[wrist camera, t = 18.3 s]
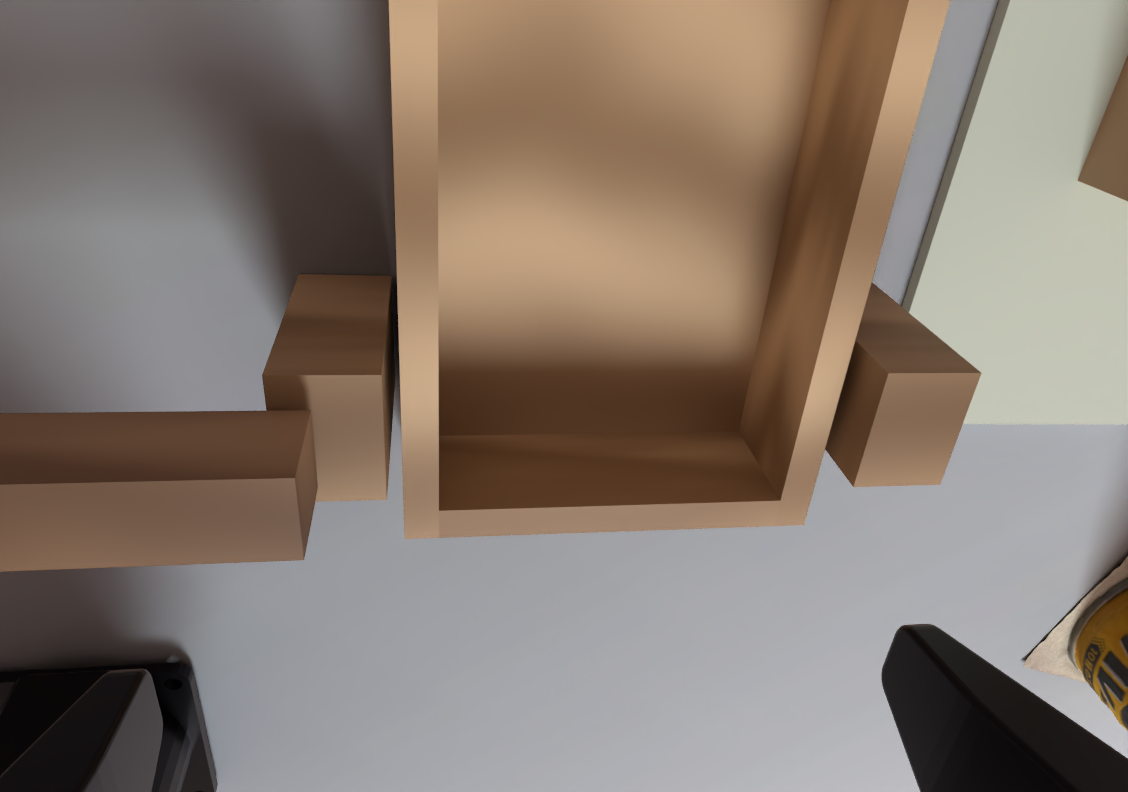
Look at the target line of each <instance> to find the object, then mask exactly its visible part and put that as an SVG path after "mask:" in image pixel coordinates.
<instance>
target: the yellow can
mask: <svg viewBox="0 0 1128 792" xmlns="http://www.w3.org/2000/svg"><path fill="white" fill-rule="evenodd" d="M1023 667H1028V668H1031V669H1035V670H1039V671H1042V672H1048V673H1050V674H1056V675H1060V676H1064V677H1067V678H1070V679H1075V680H1079V681H1082V682H1085V683H1088V684H1089V685H1090V686H1091V687H1092V688H1093V690H1094V691H1095V692H1096V693H1097V694H1098V696H1099V697H1100V699H1101V701H1103V703H1105V704H1106V705H1107V706H1108V708H1109V709H1110V710H1111V711H1112V712H1113V713H1114V715H1115V717H1116V718H1117V720H1118V721H1119V723H1120V724H1121V725H1122V726H1123V727H1124V728H1126V729H1127V730H1128V556H1127V557H1126V559H1125V560H1124V562H1123V563H1122V564H1121V565H1120V566H1119V567H1118V568H1116V569H1114V570H1113V571H1112V573H1111V574H1110V575H1109V576H1108V577H1107V578H1105V579H1104V580H1103V581H1102V582H1101V583H1100V584H1099V585H1097V586H1096V587H1095V588H1094V589H1093V590H1092V591H1091V592H1090V593H1089V594H1088V595H1087V596H1086V597H1085V598H1083V600H1082V601H1081V602H1080V603H1079V604H1078V605H1077V606H1076V607H1075V609H1074V610H1073V611H1072V612H1071V613H1070V614H1069V615H1067V616H1066V617H1065V619H1064V620H1063V621H1062V622H1061V623H1060V624H1059V625H1057V626H1056V627H1055V628H1054V629H1053V630H1052V631H1051V633H1050V634H1049V635H1048V637H1047V638H1046V639H1045V640H1044V641H1043V642H1042V643H1040V644H1039V645H1038V646H1037V648H1036V649H1034V650H1033V652H1032V653H1031V654H1030V656H1029V657H1028V658H1027V660H1026V661H1025V664H1024V665H1023Z"/></svg>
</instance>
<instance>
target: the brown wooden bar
mask: <svg viewBox="0 0 1128 792" xmlns="http://www.w3.org/2000/svg"><path fill="white" fill-rule="evenodd" d="M317 489H318V481H317V470H316V460H315V449H314V438H313V428H312V417H311V410H297V411H197V412H96V413H0V572H4V571H31V570H57V569H83V568H109V567H135V566H161V565H187V564H214V563H240V562H266V561H292V560H304V557H305V552H306V547H307V541H308V536H309V531H310V526H311V521H312V515H313V510H314V505H315V500H316V495H317Z"/></svg>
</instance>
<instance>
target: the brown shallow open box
mask: <svg viewBox="0 0 1128 792" xmlns="http://www.w3.org/2000/svg"><path fill="white" fill-rule="evenodd" d="M949 3H950V0H389V26H390V60H391V94H392V128H393V162H394V195H395V229H396V263H397V297H398V331H399V365H400V399H401V433H402V466H403V500H404V534H405V539H415V538H444V537H472V536H501V535H530V534H558V533H587V532H616V531H644V530H673V529H702V528H730V527H759V526H787V525H804V522H805V519H806V515H807V512H808V508H809V504H810V501H811V497H812V494H813V490H814V487H815V483H816V479H817V476H818V472H819V469H820V465H821V461H822V458H823V454H824V451H825V449H826V451H827V452H828V453H829V455H830V456H831V457H832V459H833V460H834V461H835V463H836V464H837V465H838V467H839V468H840V469H841V471H842V472H843V474H844V475H845V476H846V478H847V479H848V480H849V482H850V483H851V484H852V486H853V487H868V486H905V485H940V483H941V481H942V478H943V475H944V473H945V470H946V467H947V465H948V462H949V459H950V457H951V454H952V451H953V449H954V446H955V443H956V440H957V438H958V435H959V432H960V430H961V427H962V424H963V422H964V419H965V416H966V414H967V411H968V408H969V406H970V403H971V400H972V398H973V395H974V392H975V390H976V387H977V384H978V382H979V379H980V376H981V372H980V371H979V370H977V369H976V368H975V367H974V366H973V365H971V364H970V363H969V362H968V361H967V360H965V359H964V358H963V357H962V356H960V355H959V354H958V353H957V352H956V351H954V350H953V349H952V348H951V347H950V346H948V345H947V344H946V343H945V342H944V341H942V340H941V339H940V338H939V337H937V336H936V335H935V334H934V333H933V332H931V331H930V330H929V329H928V328H927V327H925V326H924V325H923V324H922V323H921V322H919V321H918V320H917V319H916V318H914V317H913V316H912V315H911V314H910V313H908V312H907V311H906V310H905V309H904V308H902V307H901V306H900V305H899V304H898V303H896V302H895V301H894V300H893V299H891V298H890V297H889V296H888V295H887V294H885V293H884V292H883V291H882V290H881V289H879V288H878V287H877V286H876V285H875V284H873V283H871V282H872V279H873V275H874V272H875V268H876V265H877V261H878V257H879V254H880V250H881V247H882V243H883V240H884V236H885V232H886V229H887V225H888V222H889V218H890V214H891V211H892V207H893V204H894V200H895V197H896V193H897V189H898V186H899V182H900V179H901V175H902V172H903V168H904V164H905V161H906V157H907V154H908V150H909V146H910V143H911V139H912V136H913V132H914V129H915V125H916V121H917V118H918V114H919V111H920V107H921V103H922V100H923V96H924V93H925V89H926V86H927V82H928V78H929V75H930V71H931V68H932V64H933V61H934V57H935V53H936V50H937V46H938V43H939V39H940V35H941V32H942V28H943V25H944V21H945V18H946V14H947V10H948V7H949ZM262 377H263V385H264V393H265V401H266V409H267V411H297V410H311V417H312V428H313V438H314V449H315V460H316V470H317V481H318V489H317V495H316V500H315V502H318V501H354V500H387V489H388V475H389V460H390V446H391V432H392V418H393V404H394V390H395V366H394V336H393V305H392V276H383V275H320V274H299V275H298V278H297V280H296V283H295V286H294V289H293V291H292V294H291V297H290V300H289V303H288V305H287V308H286V311H285V314H284V316H283V319H282V322H281V325H280V328H279V330H278V333H277V336H276V339H275V341H274V344H273V347H272V350H271V353H270V355H269V358H268V361H267V364H266V366H265V369H264V372H263V375H262Z"/></svg>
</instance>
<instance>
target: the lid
mask: <svg viewBox="0 0 1128 792" xmlns="http://www.w3.org/2000/svg"><path fill="white" fill-rule="evenodd" d="M902 308H904V309H905V310H906V311H907V312H908V313H910V314H911V315H912V316H913V317H914V318H916V319H917V320H918V321H919V322H921V323H922V324H923V325H924V326H925V327H927V328H928V329H929V330H930V331H931V332H933V333H934V334H935V335H936V336H937V337H939V338H940V339H941V340H942V341H944V342H945V343H946V344H947V345H948V346H950V347H951V348H952V349H953V350H954V351H956V352H957V353H958V354H959V355H960V356H962V357H963V358H964V359H965V360H967V361H968V362H969V363H970V364H971V365H973V366H974V367H975V368H976V369H977V370H979V371H980V372H981V376H980V379H979V382H978V384H977V387H976V390H975V392H974V395H973V398H972V400H971V403H970V406H969V408H968V411H967V414H966V416H965V419H964V422H963V424H1128V0H999V3H998V6H997V9H996V12H995V15H994V18H993V22H992V25H991V28H990V31H989V34H988V37H987V40H986V44H985V47H984V50H983V53H982V56H981V59H980V62H979V66H978V69H977V72H976V75H975V78H974V81H973V84H972V88H971V91H970V94H969V97H968V100H967V103H966V106H965V109H964V113H963V116H962V119H961V122H960V125H959V128H958V131H957V135H956V138H955V141H954V144H953V147H952V150H951V153H950V157H949V160H948V163H947V166H946V169H945V172H944V175H943V179H942V182H941V185H940V188H939V191H938V194H937V197H936V201H935V204H934V207H933V210H932V213H931V216H930V219H929V222H928V226H927V229H926V232H925V235H924V238H923V241H922V244H921V248H920V251H919V254H918V257H917V260H916V263H915V266H914V270H913V273H912V276H911V279H910V282H909V285H908V288H907V292H906V295H905V298H904V301H903V304H902Z"/></svg>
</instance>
